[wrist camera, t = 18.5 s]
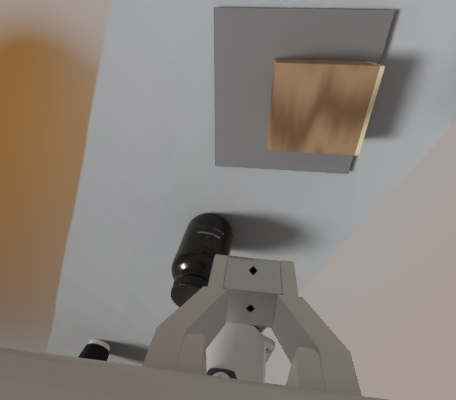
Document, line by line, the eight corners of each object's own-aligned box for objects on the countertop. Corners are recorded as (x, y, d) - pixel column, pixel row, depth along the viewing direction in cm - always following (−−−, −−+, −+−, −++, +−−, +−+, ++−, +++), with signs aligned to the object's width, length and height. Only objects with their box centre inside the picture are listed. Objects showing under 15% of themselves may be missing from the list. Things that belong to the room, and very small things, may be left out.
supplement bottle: (222, 206, 37) (207, 272, 27) (239, 242, 41) (232, 313, 31) (179, 219, 39) (150, 284, 29) (199, 252, 43) (179, 321, 33)
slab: (266, 137, 31) (348, 141, 30) (267, 150, 28) (358, 155, 27) (274, 58, 27) (369, 61, 26) (276, 62, 23) (385, 66, 23)
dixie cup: (96, 356, 64) (69, 411, 55) (75, 337, 61) (42, 393, 52) (123, 353, 62) (99, 409, 53) (103, 333, 58) (73, 390, 49)
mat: (346, 171, 33) (348, 173, 32) (216, 163, 34) (215, 165, 34) (392, 10, 24) (395, 9, 24) (214, 7, 25) (213, 7, 25)
